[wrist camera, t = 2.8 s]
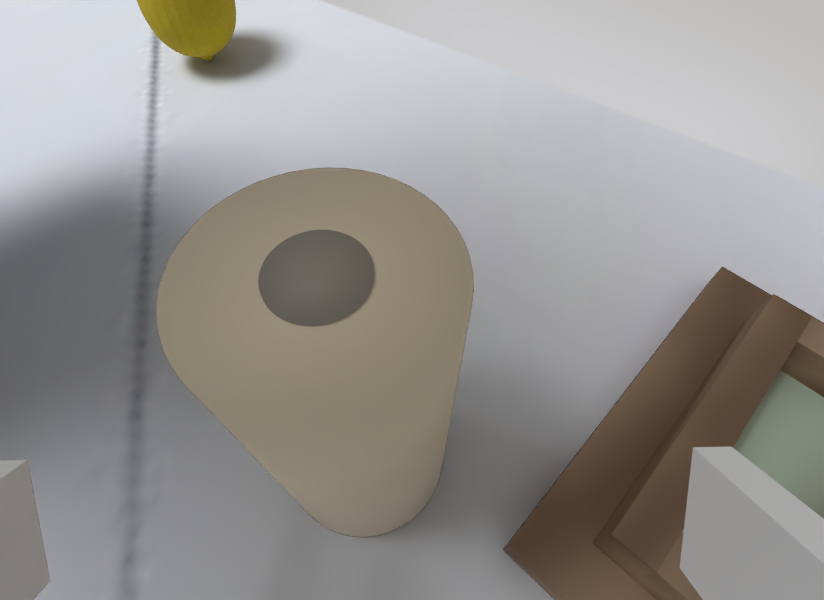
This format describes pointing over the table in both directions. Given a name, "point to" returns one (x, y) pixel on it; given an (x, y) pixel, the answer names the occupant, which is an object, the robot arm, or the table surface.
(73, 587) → the table surface
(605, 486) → the walnut roll stand
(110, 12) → the table surface
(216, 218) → the kraft paper roll
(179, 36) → the lemon
